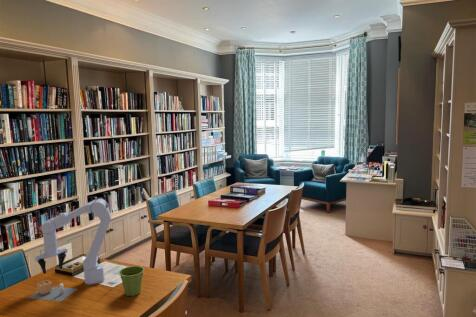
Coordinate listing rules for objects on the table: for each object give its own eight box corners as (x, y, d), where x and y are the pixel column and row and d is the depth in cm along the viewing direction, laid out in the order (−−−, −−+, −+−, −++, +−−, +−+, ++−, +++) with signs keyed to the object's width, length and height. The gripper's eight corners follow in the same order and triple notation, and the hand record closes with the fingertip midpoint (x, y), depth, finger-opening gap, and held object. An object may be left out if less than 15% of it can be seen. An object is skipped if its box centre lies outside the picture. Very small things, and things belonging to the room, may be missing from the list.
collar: (48, 287, 171) (47, 279, 170) (52, 290, 167) (51, 282, 167) (37, 290, 167) (36, 283, 166) (41, 294, 164) (40, 286, 163)
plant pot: (150, 289, 171) (149, 267, 170) (133, 301, 161) (132, 277, 159) (131, 285, 176) (130, 264, 175) (114, 296, 166) (113, 273, 164)
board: (78, 291, 170) (77, 279, 170) (61, 304, 159) (60, 290, 158) (46, 288, 174) (45, 276, 173) (27, 301, 162) (26, 287, 162)
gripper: (62, 238, 180) (64, 263, 182) (31, 246, 169) (33, 273, 171) (68, 241, 175) (70, 267, 177) (36, 249, 165) (39, 277, 166)
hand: (52, 270), depth 174 cm, fingers open, 7 cm apart
